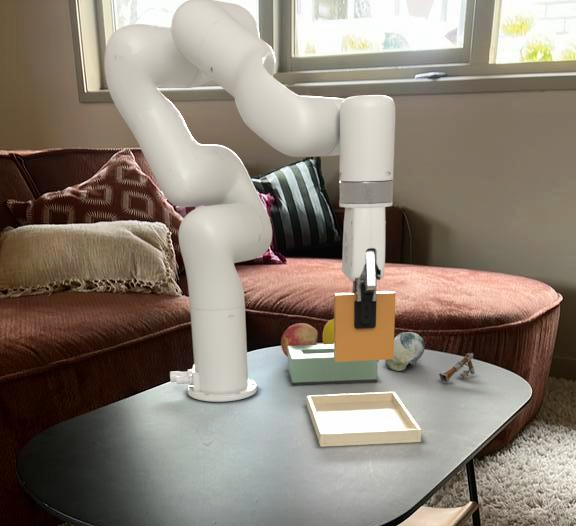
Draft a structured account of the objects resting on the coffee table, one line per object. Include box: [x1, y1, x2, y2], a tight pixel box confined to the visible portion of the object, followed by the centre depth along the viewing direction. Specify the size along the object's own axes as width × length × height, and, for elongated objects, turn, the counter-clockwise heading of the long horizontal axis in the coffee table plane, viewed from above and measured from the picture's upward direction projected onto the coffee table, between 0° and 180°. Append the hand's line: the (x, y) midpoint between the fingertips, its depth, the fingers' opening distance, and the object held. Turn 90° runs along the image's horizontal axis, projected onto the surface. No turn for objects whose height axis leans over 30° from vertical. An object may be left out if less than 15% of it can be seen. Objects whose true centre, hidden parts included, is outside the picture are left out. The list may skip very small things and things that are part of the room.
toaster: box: [287, 344, 380, 386], centre depth 146 cm, size 17×10×5 cm, turn 95°
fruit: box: [280, 322, 318, 358], centre depth 154 cm, size 8×8×8 cm
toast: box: [333, 290, 397, 362], centre depth 115 cm, size 9×2×10 cm, turn 95°
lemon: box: [322, 318, 334, 345], centre depth 159 cm, size 6×6×8 cm
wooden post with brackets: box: [438, 352, 475, 385], centre depth 143 cm, size 2×8×4 cm, turn 123°
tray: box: [306, 391, 423, 448], centre depth 122 cm, size 15×19×2 cm
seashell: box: [385, 331, 426, 372], centre depth 153 cm, size 6×8×12 cm
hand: (363, 325), depth 115 cm, fingers closed on toast, 1 cm apart
